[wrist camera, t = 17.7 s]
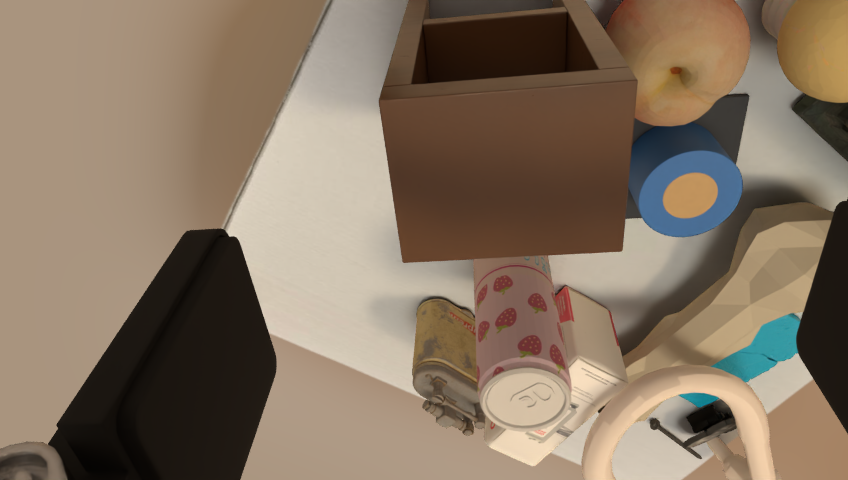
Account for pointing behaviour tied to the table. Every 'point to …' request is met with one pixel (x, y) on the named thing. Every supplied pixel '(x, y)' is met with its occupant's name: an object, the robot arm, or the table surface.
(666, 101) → the fruit
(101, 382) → the robot arm
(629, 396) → the faucet
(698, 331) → the faceted club
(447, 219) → the tall wooden box
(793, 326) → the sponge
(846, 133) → the model
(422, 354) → the lighter
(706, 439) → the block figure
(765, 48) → the table surface
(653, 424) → the screw
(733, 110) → the mat
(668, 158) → the tape
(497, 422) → the beverage can
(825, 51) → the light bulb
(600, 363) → the ink box
